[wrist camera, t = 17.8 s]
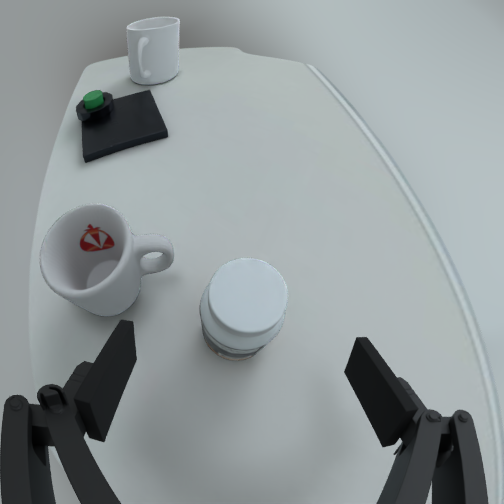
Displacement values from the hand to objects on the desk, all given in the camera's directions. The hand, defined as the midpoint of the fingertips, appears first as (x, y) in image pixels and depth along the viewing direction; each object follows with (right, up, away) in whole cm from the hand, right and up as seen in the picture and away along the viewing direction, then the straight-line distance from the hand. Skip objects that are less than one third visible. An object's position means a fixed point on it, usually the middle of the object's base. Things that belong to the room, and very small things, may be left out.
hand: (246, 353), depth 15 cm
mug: (-18, +38, +29) cm, 51 cm away
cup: (-12, +3, +10) cm, 16 cm away
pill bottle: (-1, -1, +10) cm, 10 cm away
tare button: (-24, +29, +19) cm, 42 cm away
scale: (-19, +25, +21) cm, 38 cm away
